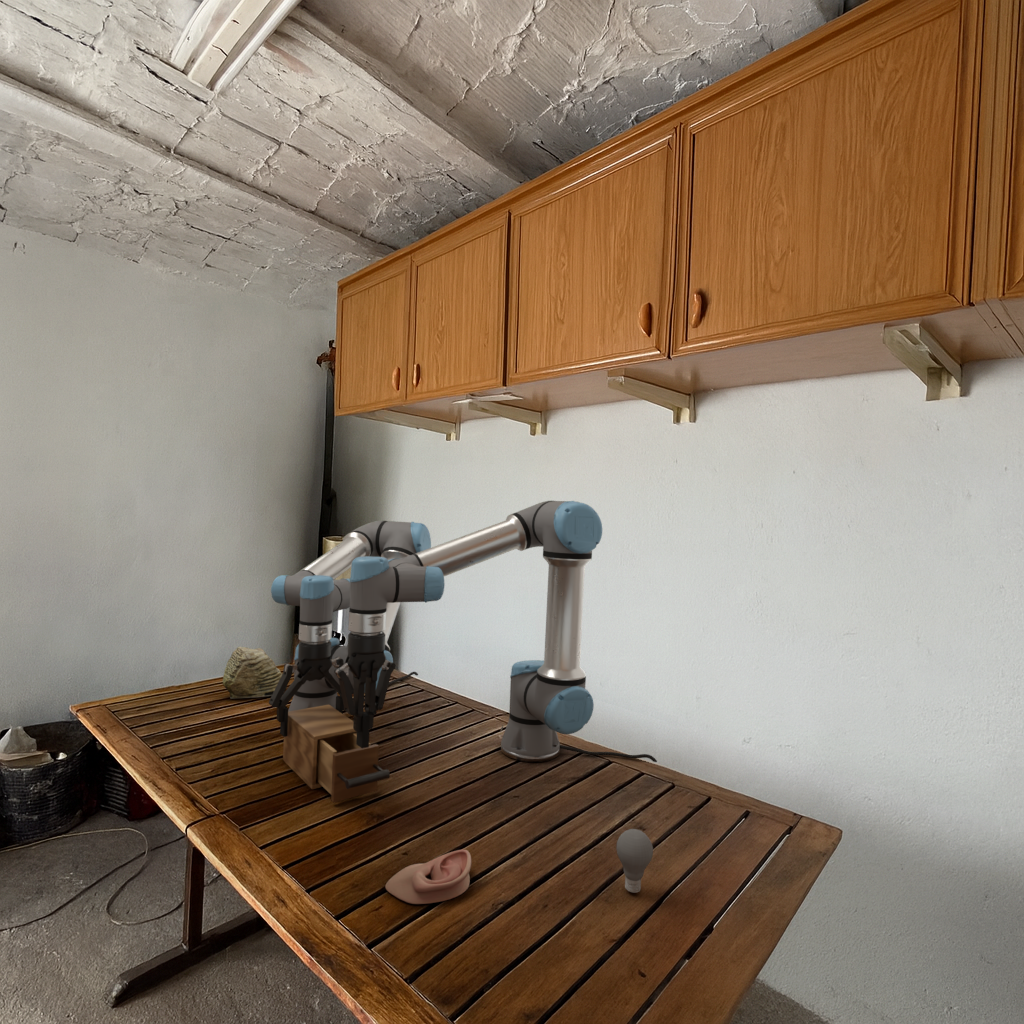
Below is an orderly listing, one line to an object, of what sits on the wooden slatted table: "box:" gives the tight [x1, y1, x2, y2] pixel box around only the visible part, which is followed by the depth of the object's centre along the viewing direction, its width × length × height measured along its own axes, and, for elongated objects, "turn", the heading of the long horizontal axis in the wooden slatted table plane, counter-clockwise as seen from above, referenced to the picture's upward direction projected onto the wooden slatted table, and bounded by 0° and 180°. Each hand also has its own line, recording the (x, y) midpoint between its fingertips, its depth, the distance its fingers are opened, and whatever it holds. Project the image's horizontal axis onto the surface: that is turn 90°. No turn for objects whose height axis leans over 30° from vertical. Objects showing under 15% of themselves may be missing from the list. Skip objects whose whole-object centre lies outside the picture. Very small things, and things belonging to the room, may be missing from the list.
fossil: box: [222, 646, 287, 699], centre depth 198 cm, size 9×18×15 cm, turn 132°
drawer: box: [316, 732, 391, 803], centre depth 137 cm, size 23×10×10 cm, turn 39°
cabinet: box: [282, 705, 357, 790], centre depth 147 cm, size 18×11×12 cm, turn 39°
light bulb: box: [615, 828, 654, 894], centre depth 106 cm, size 6×6×10 cm
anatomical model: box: [385, 849, 472, 905], centre depth 105 cm, size 13×4×12 cm
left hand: (311, 729), depth 152 cm, fingers open, 13 cm apart
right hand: (362, 745), depth 131 cm, fingers closed
